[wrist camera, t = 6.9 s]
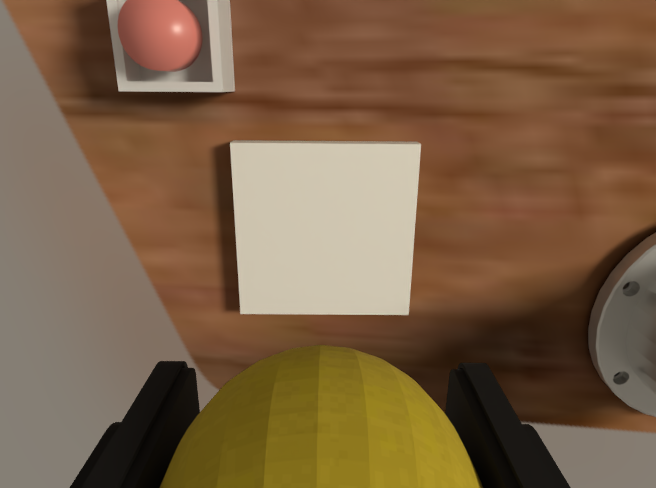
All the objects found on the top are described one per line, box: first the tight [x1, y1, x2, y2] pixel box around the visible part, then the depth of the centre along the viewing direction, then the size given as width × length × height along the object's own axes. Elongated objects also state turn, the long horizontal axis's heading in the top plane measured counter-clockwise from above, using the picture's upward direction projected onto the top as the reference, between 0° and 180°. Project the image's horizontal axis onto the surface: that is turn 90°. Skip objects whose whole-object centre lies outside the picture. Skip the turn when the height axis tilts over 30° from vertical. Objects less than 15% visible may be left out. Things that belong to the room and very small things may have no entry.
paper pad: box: [230, 140, 421, 315], centre depth 24 cm, size 9×9×1 cm
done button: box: [118, 0, 202, 72], centre depth 18 cm, size 3×3×2 cm
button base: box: [106, 0, 235, 92], centre depth 20 cm, size 4×4×3 cm
